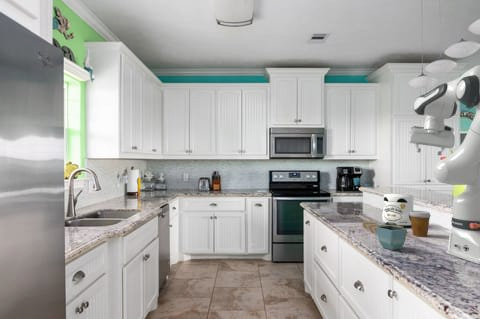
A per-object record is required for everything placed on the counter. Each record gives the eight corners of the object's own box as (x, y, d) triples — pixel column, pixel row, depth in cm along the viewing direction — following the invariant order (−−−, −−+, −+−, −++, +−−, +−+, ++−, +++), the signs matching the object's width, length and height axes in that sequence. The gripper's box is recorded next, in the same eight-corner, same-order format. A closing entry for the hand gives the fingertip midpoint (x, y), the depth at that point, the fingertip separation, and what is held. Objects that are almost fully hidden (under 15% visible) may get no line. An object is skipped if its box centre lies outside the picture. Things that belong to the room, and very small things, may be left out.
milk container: (384, 227, 176) (384, 196, 176) (380, 222, 193) (380, 193, 193) (418, 229, 171) (418, 197, 171) (411, 223, 188) (411, 194, 188)
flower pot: (390, 244, 140) (390, 225, 140) (407, 250, 131) (407, 228, 131) (375, 246, 136) (375, 226, 136) (392, 252, 128) (392, 230, 128)
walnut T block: (413, 237, 154) (413, 231, 154) (381, 237, 154) (381, 231, 154) (389, 226, 178) (389, 221, 178) (362, 226, 178) (362, 221, 178)
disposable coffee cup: (435, 236, 154) (435, 212, 154) (421, 238, 151) (421, 214, 151) (418, 232, 163) (418, 210, 163) (405, 234, 160) (404, 211, 160)
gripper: (411, 123, 162) (407, 148, 161) (457, 129, 154) (453, 155, 153) (410, 127, 168) (405, 151, 166) (454, 132, 160) (449, 158, 158)
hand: (428, 153), depth 159 cm, fingers open, 8 cm apart
